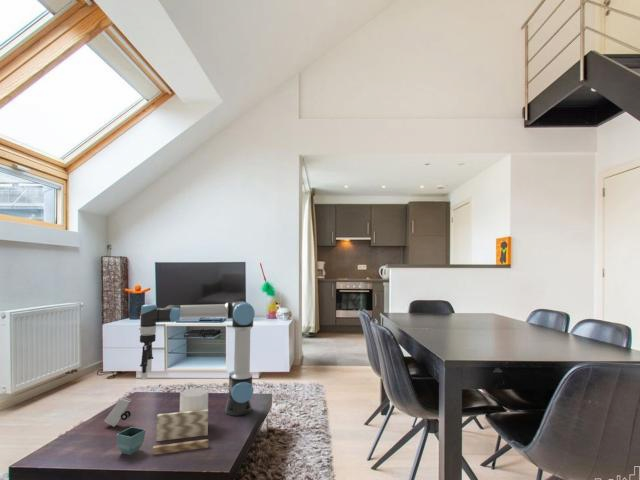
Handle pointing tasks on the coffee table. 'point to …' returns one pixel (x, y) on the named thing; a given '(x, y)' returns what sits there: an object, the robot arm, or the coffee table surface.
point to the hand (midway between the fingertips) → (146, 375)
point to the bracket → (118, 412)
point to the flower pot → (130, 440)
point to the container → (193, 399)
